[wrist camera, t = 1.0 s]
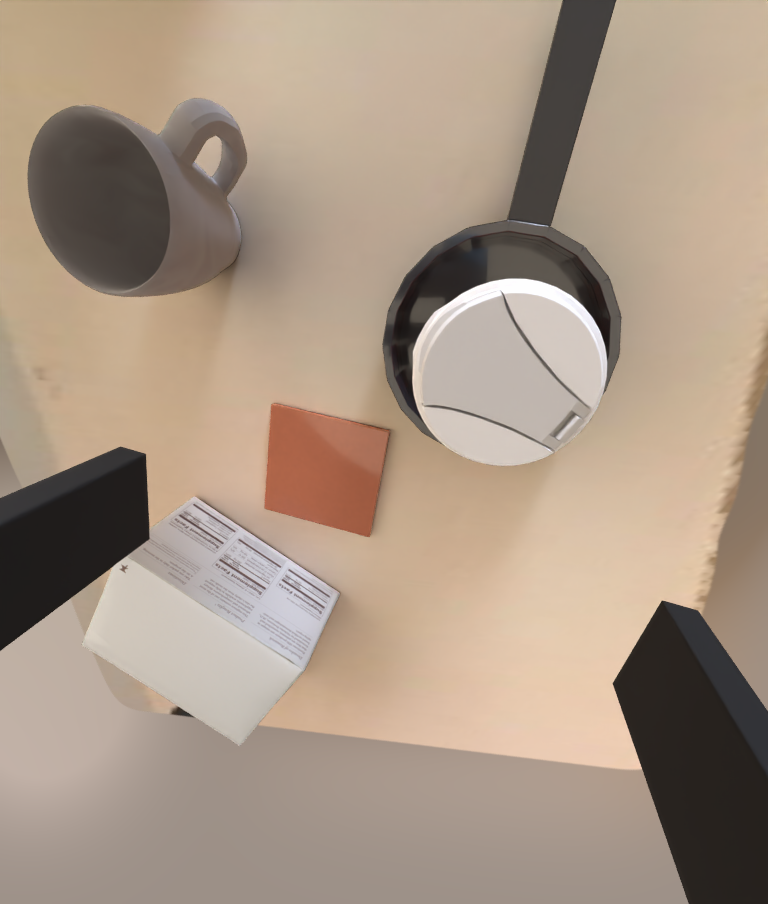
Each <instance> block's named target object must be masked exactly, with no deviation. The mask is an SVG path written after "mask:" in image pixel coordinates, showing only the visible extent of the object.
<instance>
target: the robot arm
mask: <svg viewBox="0 0 768 904" xmlns="http://www.w3.org/2000/svg"><path fill="white" fill-rule="evenodd" d="M149 539H150V535H149V513H148V491H147V469H146V454H144V453H141V452H137V451H134V450H130V449H126V448H123V447H119V448H116V449H114V450H112V451H109V452H107V453H105V454H102V455H100V456H98V457H95V458H93V459H91V460H88V461H86V462H84V463H81V464H79V465H77V466H74V467H72V468H70V469H67V470H65V471H63V472H60V473H58V474H56V475H53V476H51V477H49V478H46V479H44V480H42V481H39V482H37V483H35V484H32V485H30V486H28V487H25V488H23V489H21V490H18V491H16V492H14V493H11V494H9V495H7V496H4V497H2V498H0V651H1V650H2V649H3V648H4V647H6V646H7V645H8V644H10V643H11V642H13V641H14V640H15V639H17V638H18V637H19V636H20V635H22V634H23V633H24V632H26V631H27V630H28V629H30V628H31V627H33V626H34V625H35V624H36V623H38V622H39V621H41V620H42V619H43V618H45V617H46V616H47V615H49V614H50V613H51V612H53V611H54V610H55V609H57V608H58V607H59V606H61V605H62V604H63V603H65V602H66V601H67V600H69V599H70V598H71V597H73V596H74V595H76V594H77V593H78V592H80V591H81V590H82V589H84V588H85V587H86V586H88V585H89V584H90V583H92V582H93V581H94V580H96V579H97V578H98V577H100V576H101V575H102V574H104V573H105V572H106V571H108V570H109V569H110V568H112V567H113V566H114V565H116V564H117V563H118V562H120V561H121V560H122V559H124V558H125V557H126V556H128V555H129V554H130V553H132V552H133V551H134V550H136V549H137V548H138V547H140V546H141V545H142V544H144V543H145V542H146V541H148V540H149ZM613 686H614V689H615V691H616V694H617V697H618V700H619V703H620V706H621V709H622V712H623V715H624V718H625V720H626V723H627V726H628V729H629V732H630V735H631V738H632V741H633V744H634V746H635V749H636V752H637V755H638V758H639V761H640V764H641V767H642V770H643V772H644V775H645V778H646V781H647V784H648V787H649V790H650V793H651V795H652V799H653V801H654V804H655V807H656V810H657V813H658V816H659V819H660V822H661V824H662V827H663V830H664V833H665V836H666V839H667V842H668V845H669V848H670V850H671V853H672V856H673V859H674V862H675V865H676V868H677V871H678V874H679V877H680V880H681V882H682V885H683V888H684V891H685V894H686V897H687V900H688V902H689V904H768V711H767V710H766V708H765V707H764V705H763V704H762V702H761V701H760V699H759V698H758V697H757V695H756V694H755V692H754V691H753V689H752V688H751V687H750V685H749V684H748V682H747V681H746V679H745V678H744V676H743V675H742V674H741V672H740V671H739V669H738V668H737V666H736V665H735V663H734V662H733V661H732V659H731V658H730V656H729V655H728V653H727V652H726V650H725V649H724V648H723V646H722V645H721V643H720V642H719V640H718V639H717V638H716V636H715V635H714V633H713V632H712V630H711V629H710V627H709V626H708V625H707V623H706V622H705V620H704V619H703V617H702V616H701V614H700V613H699V612H698V610H694V609H691V608H687V607H683V606H680V605H676V604H673V603H669V602H666V601H661V603H660V605H659V606H658V608H657V610H656V612H655V613H654V615H653V617H652V618H651V620H650V622H649V623H648V625H647V627H646V628H645V630H644V632H643V633H642V635H641V637H640V638H639V640H638V642H637V644H636V645H635V647H634V649H633V650H632V652H631V654H630V655H629V657H628V659H627V660H626V662H625V664H624V665H623V667H622V669H621V670H620V672H619V674H618V675H617V677H616V679H615V681H614V682H613Z"/></svg>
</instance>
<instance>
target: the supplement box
mask: <svg viewBox="0 0 768 904" xmlns="http://www.w3.org/2000/svg"><path fill="white" fill-rule="evenodd" d="M149 535H150V539H149V540H148V541H146V542H145V543H144V544H142V545H141V546H140V547H138V548H137V549H136V550H134V551H133V552H132V553H130V554H129V555H128V556H126V557H125V558H124V559H122V560H121V561H120V562H118V563H117V564H116V565H114V566H113V568H112V570H111V573H110V575H109V578H108V580H107V583H106V586H105V588H104V591H103V593H102V596H101V598H100V601H99V603H98V606H97V609H96V611H95V613H94V616H93V618H92V620H91V623H90V626H89V628H88V630H87V632H86V635H85V638H84V640H83V643H82V646H83V647H85V648H87V649H89V650H90V651H92V652H94V653H95V654H97V655H98V656H100V657H102V658H103V659H105V660H106V661H108V662H109V663H111V664H113V665H114V666H116V667H117V668H119V669H121V670H122V671H124V672H125V673H127V674H128V675H130V676H132V677H133V678H135V679H136V680H138V681H139V682H141V683H143V684H144V685H146V686H147V687H149V688H150V689H152V690H153V691H155V692H157V693H158V694H160V695H161V696H163V697H164V698H166V699H168V700H169V701H171V702H172V703H174V704H175V705H177V706H178V707H180V708H182V709H183V710H185V711H186V712H188V713H189V714H191V715H193V716H194V717H196V718H197V719H199V720H200V721H202V722H203V723H205V724H207V725H208V726H210V727H211V728H213V729H215V730H216V731H217V732H219V733H221V734H222V735H224V736H225V737H227V738H228V739H230V740H231V741H233V742H234V743H236V744H237V745H239V746H241V744H242V743H243V742H244V741H245V740H246V738H247V737H248V736H249V735H250V734H251V732H252V731H253V730H254V729H255V728H256V726H257V725H258V724H259V723H260V722H261V720H262V719H263V718H264V717H265V716H266V714H267V713H268V712H269V711H270V710H271V708H272V707H273V706H274V705H275V704H276V703H277V702H278V700H279V699H280V698H281V697H282V696H283V695H284V694H285V692H286V691H287V690H288V689H289V688H290V687H291V686H292V685H293V683H294V682H295V681H296V680H297V679H298V678H299V676H300V675H301V674H302V673H303V672H304V671H305V669H306V667H307V665H308V663H309V660H310V658H311V656H312V654H313V651H314V649H315V647H316V645H317V643H318V640H319V638H320V636H321V634H322V631H323V629H324V627H325V625H326V623H327V621H328V618H329V616H330V614H331V612H332V610H333V608H334V606H335V604H336V602H337V600H338V598H339V596H340V593H339V592H338V591H336V590H335V589H333V588H332V587H330V586H329V585H327V584H326V583H324V582H323V581H321V580H320V579H318V578H317V577H315V576H314V575H312V574H311V573H309V572H308V571H306V570H305V569H303V568H302V567H300V566H299V565H297V564H296V563H294V562H293V561H291V560H290V559H288V558H287V557H285V556H284V555H282V554H281V553H279V552H278V551H276V550H275V549H273V548H272V547H270V546H269V545H267V544H266V543H264V542H263V541H261V540H259V539H258V538H256V537H255V536H253V535H252V534H250V533H249V532H247V531H246V530H244V529H243V528H241V527H240V526H238V525H237V524H235V523H234V522H232V521H231V520H229V519H228V518H226V517H225V516H223V515H222V514H220V513H219V512H217V511H216V510H214V509H213V508H211V507H210V506H208V505H207V504H205V503H204V502H202V501H201V500H199V499H198V498H196V497H192V498H191V499H190V500H188V501H187V502H185V503H184V504H183V505H181V506H180V507H179V508H177V509H176V510H175V511H173V512H172V513H171V514H169V515H168V516H166V517H165V518H164V519H162V520H161V521H160V522H158V523H157V524H155V525H154V526H153V527H151V528H150V529H149Z"/></svg>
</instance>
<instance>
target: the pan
mask: <svg viewBox="0 0 768 904" xmlns="http://www.w3.org/2000/svg"><path fill="white" fill-rule="evenodd" d="M503 279H529V280H535V281H541V282H544V283H547V284H549V285H552V286H555V287H557V288H559V289H561V290H562V291H564V292H566V293H568V294H569V295H571V296H572V297H573V298H575V299H576V300H577V301H578V302H579V303H580V304H582V305H583V306H584V308H585V309H586V310H587V311H588V313H589V314H590V315H591V316H592V317H593V319H594V321H595V323H596V325H597V326H598V328H599V330H600V332H601V335H602V338H603V341H604V344H605V349H606V356H607V378H606V383H605V387H604V392H605V391H606V388H607V386H608V383H609V381H610V378H611V376H612V373H613V370H614V368H615V365H616V363H617V360H618V358H619V354H620V333H621V313H620V310H619V307H618V304H617V300H616V297H615V294H614V291H613V288H612V284H611V281H610V279H609V277H608V275H607V274H606V273H605V272H604V270H603V269H602V268H601V266H600V265H599V264H598V263H597V261H596V260H595V259H594V258H593V256H592V255H591V254H590V253H589V251H588V250H587V249H586V248H585V247H584V246H583V245H581V244H579V243H578V242H576V241H574V240H573V239H571V238H569V237H567V236H566V235H564V234H562V233H560V232H559V231H557V230H555V229H554V228H552V227H549V226H545V225H539V224H533V223H526V222H520V221H514V220H505V221H499V222H494V223H489V224H483V225H478V226H473V227H469V228H466V229H464V230H463V231H461V232H459V233H457V234H455V235H454V236H452V237H450V238H448V239H446V240H444V241H443V242H441V243H439V244H437V245H435V246H434V247H433V248H431V249H430V250H429V251H428V252H427V254H426V255H425V256H424V257H423V258H422V259H421V260H420V261H419V262H418V263H417V264H416V265H415V266H414V267H413V268H412V269H411V270H410V271H409V273H408V274H407V275H406V277H404V279H403V281H402V283H401V285H400V287H399V289H398V291H397V294H396V296H395V298H394V300H393V302H392V304H391V306H390V308H389V310H388V314H387V320H386V326H385V332H384V339H383V354H384V361H385V368H386V376H387V381H388V383H389V385H390V387H391V389H392V391H393V393H394V396H395V398H396V400H397V402H398V404H399V406H400V408H401V410H402V411H403V412H404V413H405V414H406V415H407V416H408V418H409V419H410V420H411V421H412V422H413V423H414V424H415V425H416V426H417V427H418V428H419V430H420V431H421V432H422V433H424V434H425V435H427V436H429V437H431V438H432V439H434V440H436V441H437V442H439V443H441V442H440V441H439V440H438V439H437V438H436V437H435V436H434V435H433V434H432V433H431V432H430V430H429V429H428V427H427V426H426V424H425V423H424V421H423V419H422V417H421V415H420V413H419V411H418V408H417V405H416V401H415V398H414V392H413V384H412V375H413V350H414V347H415V344H416V341H417V339H418V336H419V335H420V333H421V331H422V329H423V327H424V325H425V324H426V322H427V321H428V320H429V319H430V317H431V316H432V315H433V313H434V312H435V311H437V310H438V309H440V308H441V307H443V306H445V305H446V304H448V303H449V302H451V301H452V300H454V299H455V298H456V297H458V296H459V295H461V294H462V293H464V292H466V291H468V290H470V289H472V288H474V287H476V286H479V285H482V284H485V283H488V282H491V281H497V280H503ZM604 392H603V394H604ZM441 444H442V443H441ZM444 446H445V445H444Z"/></svg>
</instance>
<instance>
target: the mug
mask: <svg viewBox="0 0 768 904" xmlns="http://www.w3.org/2000/svg"><path fill="white" fill-rule="evenodd" d="M215 135H216V136H218V137H219V138H220V139H221V141H222V154H221V161H220V164H219V166H218V169H217V171H216V172H215V174H214V175H213V176H212V177H209V176H208V175H207V174H206V173H205V172H204V171H203V170H202V169H201V168H200V167H199V166H198V165H197V164H196V163H195V162H194V161H195V159H196V157H197V156H198V154H199V152H200V150H201V149H202V147H203V145H204V144H205V142H206V141H207V140H208V139H209V138H211V137H213V136H215ZM246 164H247V152H246V148H245V144H244V140H243V137H242V134H241V131H240V128H239V126H238V124H237V123H236V121H235V120H234V118H233V117H232V116H231V114H230V113H229V112H228V111H227V110H226V109H225V108H223V107H222V106H220V105H218V104H217V103H215V102H213V101H210V100H206V99H202V98H194V99H189V100H186V101H184V102H182V103H181V104H179V105H178V106H177V107H176V108H175V110H174V111H173V113H172V114H171V116H170V118H169V120H168V121H167V123H166V125H165V126H164V128H163V130H162V131H161V133H160V134H159V135H157V134H155V133H153V132H152V131H150V130H148V129H147V128H145V127H143V126H141V125H140V124H138V123H136V122H134V121H132V120H130V119H128V118H126V117H124V116H122V115H120V114H118V113H115V112H113V111H110V110H107V109H104V108H102V107H97V106H93V105H77V106H72V107H69V108H66V109H64V110H62V111H60V112H58V113H56V114H55V115H54V116H52V117H51V118H50V119H49V120H48V121H47V122H46V123H45V124H44V125H43V126H42V128H41V129H40V131H39V133H38V134H37V136H36V138H35V141H34V143H33V146H32V149H31V153H30V157H29V164H28V191H29V198H30V203H31V207H32V211H33V215H34V218H35V221H36V223H37V226H38V228H39V231H40V233H41V235H42V237H43V239H44V241H45V243H46V244H47V246H48V248H49V249H50V251H51V252H52V254H53V255H54V256H55V258H56V259H57V260H58V261H59V263H60V264H61V265H62V266H63V267H64V268H65V269H66V270H67V271H68V272H69V273H70V274H71V275H73V276H74V277H75V278H76V279H77V280H79V281H80V282H81V283H83V284H85V285H86V286H88V287H90V288H92V289H94V290H96V291H98V292H101V293H104V294H108V295H114V296H123V297H144V296H158V295H167V294H173V293H178V292H182V291H186V290H189V289H192V288H195V287H198V286H200V285H202V284H204V283H206V282H208V281H210V280H211V279H213V278H214V277H216V276H217V275H218V274H219V273H220V272H221V271H222V270H224V269H226V268H227V267H229V266H230V265H231V264H232V263H233V262H234V260H235V259H236V257H237V255H238V253H239V250H240V246H241V228H240V224H239V220H238V218H237V215H236V213H235V211H234V210H233V208H232V207H231V205H230V204H229V203H228V202H227V195H228V194H229V193H230V192H231V190H232V189H233V188H234V186H235V184H236V182H237V181H238V179H239V177H240V175H241V174H242V172H243V170H244V169H245V167H246Z"/></svg>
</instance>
